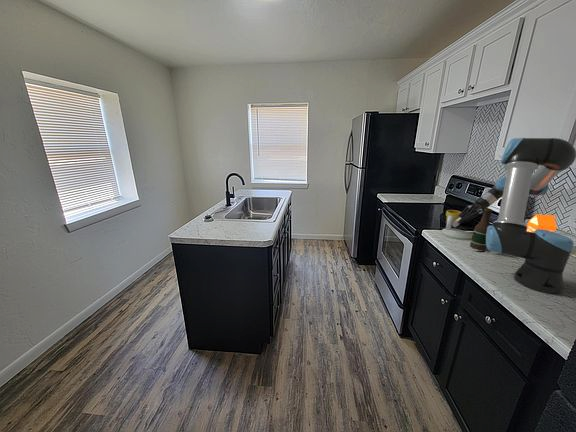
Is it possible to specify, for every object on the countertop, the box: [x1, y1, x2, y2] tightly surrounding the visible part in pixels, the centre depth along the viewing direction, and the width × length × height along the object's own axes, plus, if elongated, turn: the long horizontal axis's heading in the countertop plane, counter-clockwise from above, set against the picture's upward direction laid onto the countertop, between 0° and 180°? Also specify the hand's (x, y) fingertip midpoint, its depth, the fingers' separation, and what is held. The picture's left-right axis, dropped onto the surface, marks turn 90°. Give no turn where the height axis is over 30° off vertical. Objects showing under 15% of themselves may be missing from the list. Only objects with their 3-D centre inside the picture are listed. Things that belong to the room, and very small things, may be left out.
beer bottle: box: [469, 207, 493, 253], centre depth 135 cm, size 8×8×24 cm
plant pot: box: [445, 209, 462, 223], centre depth 178 cm, size 10×10×10 cm
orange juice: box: [526, 213, 557, 233], centre depth 140 cm, size 8×9×20 cm
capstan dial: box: [441, 216, 473, 241], centre depth 155 cm, size 16×16×11 cm
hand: (453, 225), depth 161 cm, fingers closed
